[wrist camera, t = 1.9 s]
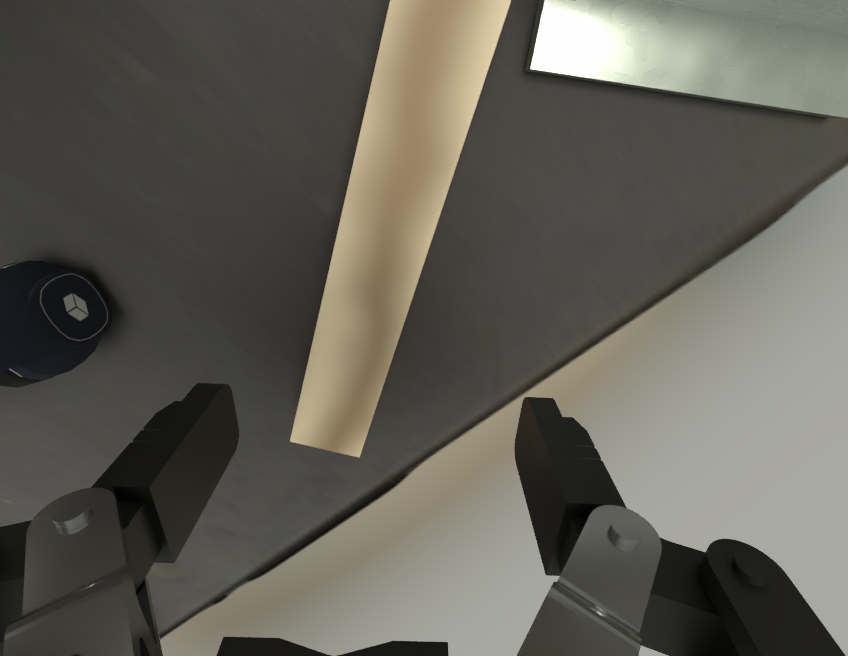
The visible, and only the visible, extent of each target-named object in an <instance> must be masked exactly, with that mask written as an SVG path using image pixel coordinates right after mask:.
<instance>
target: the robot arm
mask: <svg viewBox="0 0 848 656" xmlns="http://www.w3.org/2000/svg"><path fill="white" fill-rule="evenodd" d="M238 439H239V427H238V422H237V417H236V411H235V406H234V400H233V395H232V390H231V388H230V386H229V385H228V384H208V383H198V384H196V385H195V386H194V387H193V388H192V390H191V391H190V392H189V393H188V394H187V396H186V397H185V398H184V399H183V400H182V401H175V402H173V403H171V404H170V405H168V406H167V407H165V408H164V409H162V410H161V411H159V412H157V413H156V414H155V415H154V416H153V418H152V419H151V420H150V421H149V422H148V423H147V424H146V426H145V427H144V430H143V431H140V432H139V433H138V435H137V436H136V437H135V438H134V439H133V443H130V444H129V445H128V446H127V447H126V448H125V449H124V451H123V452H122V453H121V454H120V455H119V456H118V457H117V459H116V460H115V461H114V462H113V463H112V464H111V465H110V467H109V468H108V469H107V470H106V471H105V472H104V473H103V475H102V476H101V477H100V478H99V479H98V480H97V481H96V483H95V484H94V485H93V486H92V487H91V488H86V489H82V490H78V491H75V492H72V493H69V494H67V495H64V496H62V497H60V498H58V499H57V500H55V501H53V502H52V503H50V504H49V505H47V506H46V507H45V508H43V509H42V510H41V511H40V512H39V513H38V514H37V515H36V516H35V517H34V518H33V520H31V521H26V522H22V523H17V524H12V525H8V526H3V527H0V656H163V654H162V649H161V644H160V639H159V634H158V629H157V624H156V619H155V614H154V609H153V604H152V599H151V594H150V589H149V584H148V581H147V578H146V575H147V573H148V572H149V570H150V568H151V567H152V565H153V563H154V562H160V563H175V561H176V559H177V557H178V555H179V553H180V552H181V550H182V548H183V546H184V544H185V542H186V541H187V539H188V537H189V535H190V533H191V532H192V530H193V528H194V526H195V524H196V522H197V521H198V519H199V517H200V515H201V513H202V511H203V510H204V508H205V506H206V504H207V502H208V500H209V499H210V497H211V495H212V493H213V491H214V489H215V488H216V486H217V484H218V482H219V480H220V479H221V477H222V475H223V473H224V471H225V469H226V468H227V466H228V464H229V462H230V460H231V458H232V457H233V455H234V453H235V451H236V448H237V445H238ZM515 460H516V465H517V469H518V472H519V476H520V480H521V484H522V487H523V491H524V495H525V499H526V503H527V506H528V510H529V514H530V517H531V521H532V525H533V529H534V533H535V536H536V540H537V544H538V548H539V551H540V555H541V559H542V563H543V566H544V570H545V574H546V575H554V576H555V575H557V576H560V577H559V579H558V581H557V583H556V582H554V583H553V585H552V586H551V588H550V590H549V592H548V594H547V596H546V598H545V600H544V602H543V604H542V606H541V608H540V610H539V612H538V614H537V616H536V618H535V620H534V622H533V624H532V626H531V628H530V630H529V632H528V634H527V636H526V638H525V640H524V642H523V644H522V646H521V648H520V650H519V652H518V654H517V656H638V654H639V650H640V646H641V645H642V646H645V647H647V648H650V649H653V650H655V651H658V652H661V653H663V654H666V655H669V656H845V654H844V653H843V652H842V650H841V649H840V648H839V646H838V645H837V643H836V642H835V641H834V639H833V638H832V637H831V635H830V634H829V632H828V631H827V630H826V628H825V627H824V626H823V624H822V623H821V621H820V620H819V619H818V617H817V616H816V614H815V613H814V612H813V610H812V609H811V608H810V606H809V605H808V603H807V602H806V601H805V599H804V598H803V597H802V595H801V594H800V593H799V591H798V590H797V588H796V587H795V585H794V584H793V583H792V581H791V580H790V579H789V577H788V576H787V575H786V573H785V572H784V571H783V570H782V568H781V567H780V566H779V565H777V563H776V562H774V561H773V560H772V559H771V558H769V557H768V556H767V555H765V554H764V553H763V552H761V551H759V550H758V549H756V548H754V547H752V546H750V545H748V544H745V543H743V542H740V541H736V540H731V539H719V540H716V541H714V542H712V543H711V544H710V545H709V547H708V549H707V551H706V553H705V552H702V551H699V550H695V549H692V548H689V547H686V546H682V545H679V544H676V543H672V542H670V541H667V540H664V539H662V538H660V537H659V536H658V534H657V532H656V531H655V529H654V528H653V527H652V526H651V524H650V523H649V522H648V521H646V520H645V519H644V518H643V517H641V516H640V515H639V514H637V513H635V512H633V511H631V510H629V509H627V508H626V506H625V504H624V502H623V500H622V498H621V496H620V494H619V492H618V490H617V489H616V487H615V485H614V483H613V481H612V479H611V477H610V475H609V473H608V471H607V469H606V467H605V465H604V463H603V461H601V457H600V456H599V453H598V452H597V450H596V449H595V448H594V444H593V442H592V440H591V438H590V436H589V434H588V432H587V430H585V429H584V428H583V427H582V426H581V425H580V424H579V423H578V422H577V421H576V420H575V419H574V418H572V417H562V415H561V413H560V411H559V409H558V407H557V405H556V402H555V400H554V399H553V398H535V397H525V398H524V400H523V404H522V408H521V413H520V418H519V423H518V429H517V434H516V439H515ZM217 656H330V655H326V654H324V653H321V652H317V651H315V650H312V649H309V648H306V647H303V646H301V645H298V644H295V643H292V642H289V641H286V640H283V639H280V638H251V637H247V638H246V637H223V640H222V643H221V645H220V648H219V651H218V654H217ZM338 656H448V642H416V641H413V642H412V641H391V642H387V643H384V644H380V645H377V646H372V647H369V648H365V649H361V650H358V651H354V652H350V653H347V654H343V655H338Z"/></svg>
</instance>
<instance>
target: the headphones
mask: <svg viewBox="0 0 848 656" xmlns="http://www.w3.org/2000/svg"><path fill="white" fill-rule="evenodd" d="M111 322H112V312H111V310H110V307H109V305H108V303H107V301H106V299H105V298H104V296H103V295H102V293H101V291H100V290H99V289H98V288H97V286H96V285H95V284H94V283H93V281H92V280H90V279H89V278H88V277H87V276H86V275H85V274H84V273H82V272H79V271H77V270H74V269H69V270H63V269H61V268H59V267H56V266H54V265H52V264H49V263H47V262H44V261H25V262H22V263H18V264H17V263H16V262H15V263H12V264H8V265H5V266H3V268H1V269H0V386H9V387H21V386H25V385H29V384H33V383H36V382H40V381H43V380H46V379H49V378H52V377H54V376H56V375H59V374H62V373H65V372H68V371H70V370H72V369H73V368H75V367H76V366H78V365H79V364H81V363H82V362H84V361H85V360H86V359H87V358H88V357H89V356H90V354H91V353H92V352H93V351H94V350H95V349H96V347H97V345H98V343H99V341H100V339H101V336H102V335H103V334H104V333H105V332H106V331H107V330H108V328H109V326H110V324H111Z"/></svg>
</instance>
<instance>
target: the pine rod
mask: <svg viewBox="0 0 848 656" xmlns="http://www.w3.org/2000/svg"><path fill="white" fill-rule="evenodd" d="M510 2H511V0H390V4H389V8H388V12H387V17H386V21H385V26H384V30H383V34H382V39H381V43H380V48H379V52H378V56H377V61H376V65H375V70H374V74H373V78H372V83H371V87H370V92H369V96H368V100H367V105H366V109H365V114H364V118H363V122H362V127H361V131H360V136H359V140H358V144H357V149H356V153H355V158H354V162H353V166H352V171H351V175H350V180H349V184H348V188H347V193H346V197H345V202H344V206H343V210H342V215H341V219H340V224H339V228H338V232H337V237H336V241H335V246H334V250H333V254H332V259H331V263H330V268H329V272H328V276H327V281H326V285H325V290H324V294H323V298H322V303H321V307H320V312H319V316H318V320H317V325H316V329H315V333H314V338H313V342H312V347H311V351H310V355H309V360H308V364H307V369H306V373H305V377H304V382H303V386H302V391H301V395H300V399H299V404H298V408H297V413H296V417H295V421H294V426H293V430H292V435H291V439H290V442H294V443H298V444H303V445H307V446H311V447H316V448H320V449H324V450H329V451H333V452H337V453H342V454H346V455H350V456H355V457H359V458H360V455H361V452H362V448H363V445H364V442H365V439H366V436H367V433H368V430H369V427H370V424H371V421H372V418H373V415H374V412H375V409H376V406H377V403H378V400H379V397H380V394H381V391H382V388H383V385H384V382H385V379H386V376H387V373H388V370H389V367H390V364H391V361H392V358H393V355H394V352H395V349H396V346H397V343H398V340H399V337H400V334H401V331H402V328H403V325H404V322H405V319H406V316H407V313H408V310H409V307H410V304H411V301H412V298H413V295H414V292H415V289H416V286H417V283H418V280H419V277H420V274H421V271H422V268H423V265H424V262H425V259H426V256H427V253H428V250H429V247H430V244H431V241H432V238H433V235H434V232H435V228H436V225H437V222H438V219H439V216H440V213H441V210H442V207H443V204H444V201H445V198H446V195H447V192H448V189H449V186H450V183H451V180H452V177H453V174H454V171H455V168H456V165H457V162H458V159H459V156H460V153H461V150H462V147H463V144H464V141H465V138H466V135H467V132H468V129H469V126H470V123H471V120H472V117H473V114H474V111H475V108H476V105H477V102H478V99H479V96H480V93H481V90H482V87H483V84H484V81H485V78H486V75H487V72H488V69H489V66H490V63H491V60H492V57H493V54H494V51H495V48H496V45H497V42H498V39H499V36H500V33H501V30H502V27H503V24H504V21H505V18H506V15H507V11H508V8H509V5H510Z"/></svg>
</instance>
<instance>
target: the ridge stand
mask: <svg viewBox="0 0 848 656" xmlns="http://www.w3.org/2000/svg"><path fill="white" fill-rule="evenodd" d="M525 71H526V72H533V73H539V74H546V75H552V76H559V77H565V78H572V79H578V80H585V81H591V82H598V83H604V84H611V85H617V86H624V87H630V88H637V89H643V90H650V91H656V92H663V93H669V94H676V95H682V96H689V97H695V98H702V99H708V100H715V101H721V102H727V103H734V104H740V105H747V106H753V107H760V108H766V109H773V110H779V111H786V112H792V113H799V114H805V115H812V116H818V117H825V118H848V0H539V2H538V7H537V12H536V17H535V22H534V26H533V31H532V36H531V41H530V46H529V51H528V56H527V61H526V66H525Z"/></svg>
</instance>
